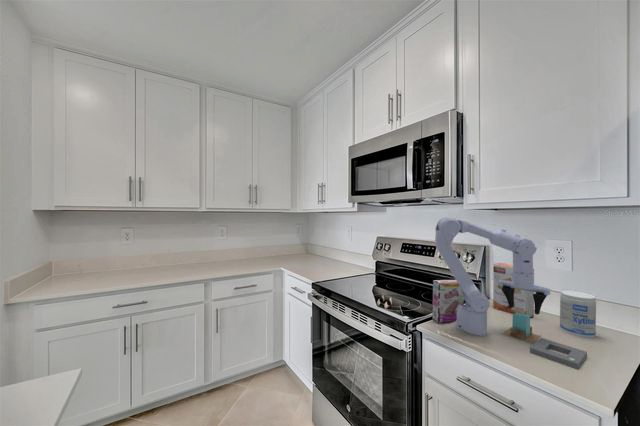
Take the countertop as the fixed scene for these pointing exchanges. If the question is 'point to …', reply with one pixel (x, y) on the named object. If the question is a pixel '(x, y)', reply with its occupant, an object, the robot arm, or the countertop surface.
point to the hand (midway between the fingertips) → (523, 310)
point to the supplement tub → (578, 313)
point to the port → (572, 360)
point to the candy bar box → (446, 300)
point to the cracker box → (521, 297)
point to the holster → (521, 335)
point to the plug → (522, 322)
